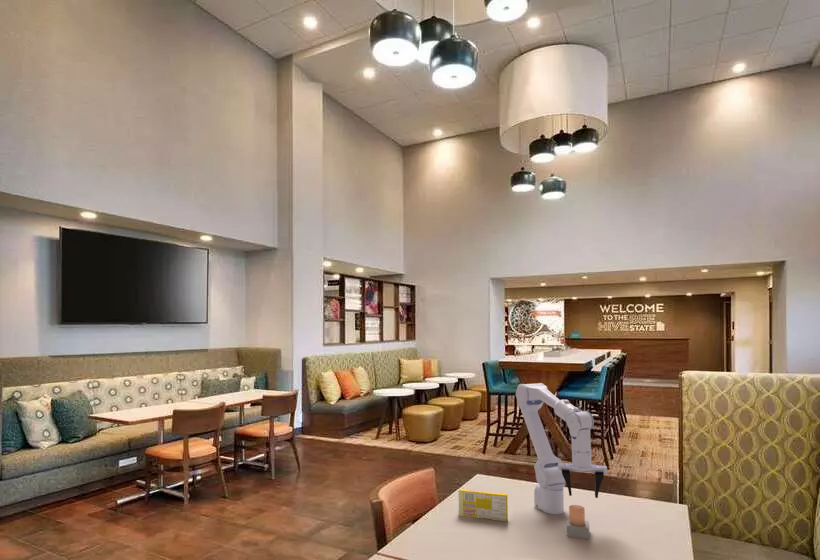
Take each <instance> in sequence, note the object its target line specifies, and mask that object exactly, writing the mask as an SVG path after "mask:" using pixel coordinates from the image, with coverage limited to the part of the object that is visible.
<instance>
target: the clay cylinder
mask: <svg viewBox="0 0 820 560" xmlns="http://www.w3.org/2000/svg"><path fill="white" fill-rule="evenodd" d="M585 509H586V508H585V507H584V506H582V505H578V504H573V505H572V504H571V505H569V506H568V510H569V511H568V513H569V514H568V515H569V516H568V518H569V519H570V524H572V525H575V526H584V525H585V521H586V513H585Z"/></svg>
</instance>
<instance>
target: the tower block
mask: <svg viewBox="0 0 820 560" xmlns="http://www.w3.org/2000/svg"><path fill="white" fill-rule="evenodd" d="M566 536H567V537H571V538H577V539H578V538H579V539H584V540H585V539H586V540H589V538H590V521H589V520H585V525H584V526H575V525H572V524H570V519H569V517H568V519H567V524H566Z"/></svg>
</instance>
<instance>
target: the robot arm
mask: <svg viewBox="0 0 820 560" xmlns="http://www.w3.org/2000/svg"><path fill="white" fill-rule="evenodd" d="M515 397H516V400H517V404H518V406H519V409H520V411H521V414H522V416H523V420H524V423H525V425H526V428H527V432H528V434H529V437H530V439H531V442H532V445H533V448H534V450H535V454H536V456H537V460H536V463H535V464H534V466H533V468H534V471H535V479H536V482H537V484H536V485H535V487H534V493H533V496H534V497H533V498H534V508H536V509H539V510H541V511H542V512H544V513H546V514H550V515H560V514H563V513H564V512H565V506H564V505H565V503H564V502H565V501H564V488H566V487H567V490H568V496H569V497H572V486H571V484H572V482H571V472H576V473H593V476H594V498H595V499H598V498H599V492H600V488H601V485H602V482H603V480H604V477H605V476H604V475H608V467H607V465H599V464H592V442H591V441H592V440H591V430H592V429H593V428H594V424H595V420H594V416H593V414H592V413H591V412H590V411H588V410H580V408H579V407H577V406H574V405H573V404H572V403H570V400H568V399H559V398H558V397H557V396H556V395H554V393H552V392H551V391H550V390H549V389H548V386H547V385H545V384H544V383H542V382H538V383H526V384H525V383H520V384H518V386H517V387H516V391H515ZM544 404H546V405H548V406H549V407H551V409H552V408H553V412H554V414H555V415H557V417H559V418H560V419H561V420H563V421H564V422H566V425H567V428H568V429H569V434H570V435H569V436H570V437H571V458H572V459H571V461H572V462H566V463H565V462H563V461H562V460H561V459H560V458H559V457H557V456H556V455H554V453H553V450H552V446H551V444H550V442H549V439H548V436H547V433H546V431H545V429H544V425H543V423H542V419H541V418H540V415H539V412H538V411H539V410H540V409H541V408H542V407H543V405H544Z"/></svg>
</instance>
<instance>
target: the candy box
mask: <svg viewBox="0 0 820 560" xmlns="http://www.w3.org/2000/svg"><path fill="white" fill-rule="evenodd" d="M460 515H461V516H462V517H467V516H469V517H468V518H475V517H479V518H478V519H483V518H486V519H485V520H490V519H495V520H494V521H498V520H501V521H500V522H506V521H507V522H508V520H509V517H508V516H509V515H508V493H500V492H493V491H492V492H490V491H489V492H488V491H482V490H481V491H480V490H472V489H462V488H460V489H458V516H460Z"/></svg>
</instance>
